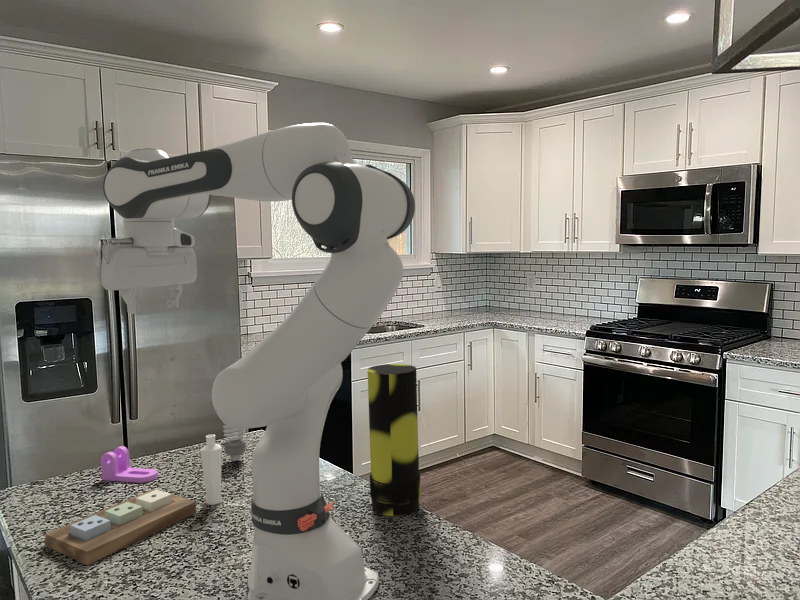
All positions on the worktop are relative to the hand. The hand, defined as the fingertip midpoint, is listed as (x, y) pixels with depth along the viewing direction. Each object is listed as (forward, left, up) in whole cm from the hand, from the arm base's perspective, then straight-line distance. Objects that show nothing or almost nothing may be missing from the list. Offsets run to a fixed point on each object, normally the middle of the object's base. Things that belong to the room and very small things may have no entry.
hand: (154, 310), depth 115 cm
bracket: (+34, -15, -45) cm, 58 cm away
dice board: (+10, +3, -45) cm, 46 cm away
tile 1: (+10, -4, -43) cm, 44 cm away
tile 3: (+10, +10, -43) cm, 45 cm away
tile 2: (+10, +3, -43) cm, 44 cm away
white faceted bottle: (+4, -15, -45) cm, 48 cm away
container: (-33, -32, -45) cm, 64 cm away
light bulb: (+19, -35, -45) cm, 60 cm away
